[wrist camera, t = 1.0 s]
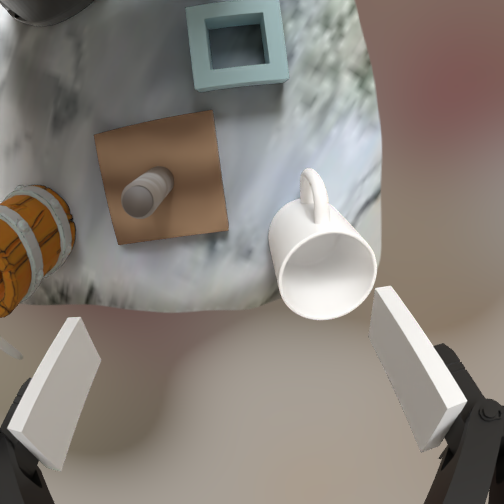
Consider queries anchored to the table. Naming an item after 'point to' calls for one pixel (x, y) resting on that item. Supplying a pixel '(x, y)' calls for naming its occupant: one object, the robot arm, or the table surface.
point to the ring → (228, 15)
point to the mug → (31, 241)
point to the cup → (319, 255)
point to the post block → (163, 178)
